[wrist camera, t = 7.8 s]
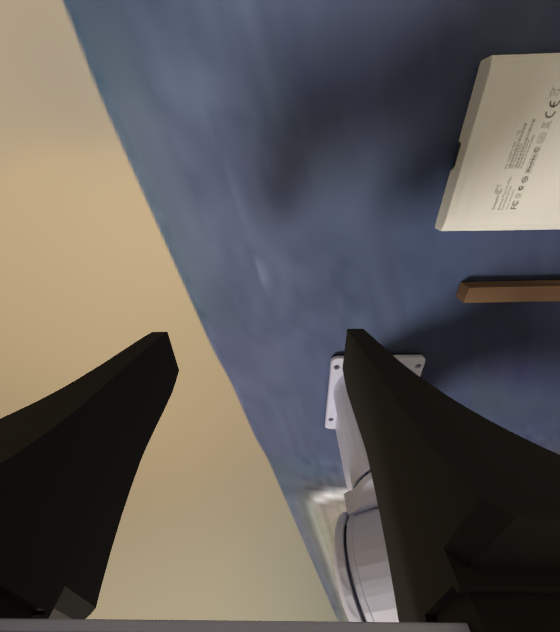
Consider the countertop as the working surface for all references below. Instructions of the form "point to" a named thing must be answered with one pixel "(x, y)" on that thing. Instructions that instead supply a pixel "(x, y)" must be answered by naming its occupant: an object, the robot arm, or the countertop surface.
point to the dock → (509, 291)
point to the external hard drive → (508, 149)
